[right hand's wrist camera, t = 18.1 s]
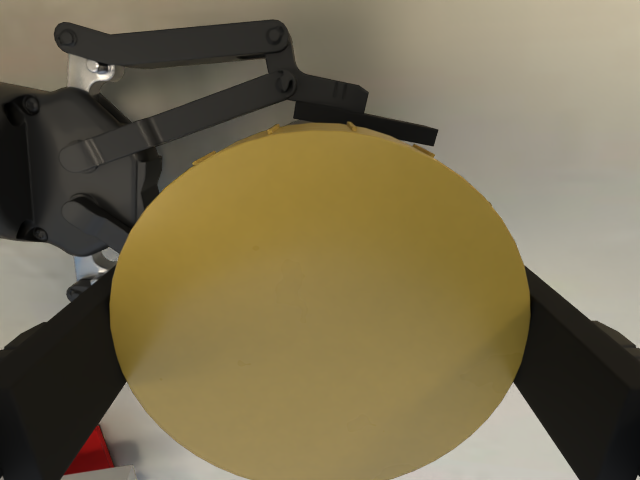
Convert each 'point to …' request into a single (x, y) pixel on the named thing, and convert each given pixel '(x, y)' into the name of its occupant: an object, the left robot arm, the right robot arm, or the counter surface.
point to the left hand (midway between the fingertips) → (399, 234)
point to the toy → (96, 462)
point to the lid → (319, 306)
